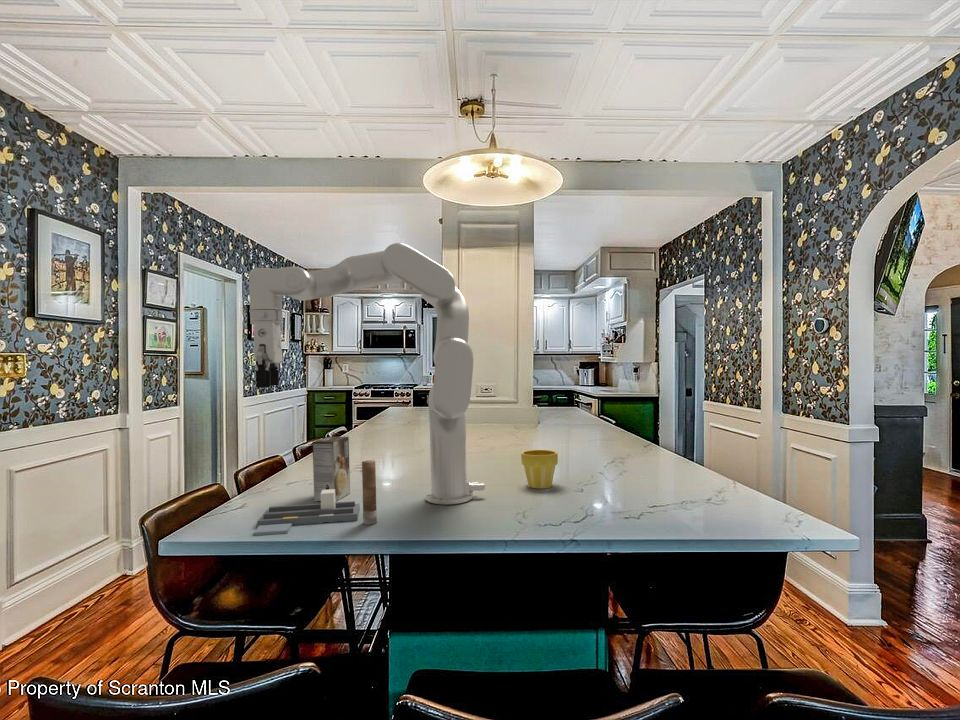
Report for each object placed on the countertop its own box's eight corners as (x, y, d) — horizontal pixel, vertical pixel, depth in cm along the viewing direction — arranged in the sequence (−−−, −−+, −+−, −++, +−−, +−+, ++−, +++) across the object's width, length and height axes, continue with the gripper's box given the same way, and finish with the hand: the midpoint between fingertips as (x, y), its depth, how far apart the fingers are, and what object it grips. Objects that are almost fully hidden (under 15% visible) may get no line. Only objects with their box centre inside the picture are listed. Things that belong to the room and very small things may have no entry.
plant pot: (533, 480, 158) (532, 447, 158) (564, 484, 152) (563, 450, 152) (515, 487, 149) (514, 453, 149) (547, 492, 143) (546, 456, 143)
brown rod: (376, 520, 122) (375, 460, 122) (376, 524, 119) (375, 462, 119) (363, 521, 121) (362, 461, 121) (362, 525, 118) (361, 463, 118)
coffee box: (329, 492, 148) (328, 436, 148) (350, 493, 147) (349, 436, 147) (313, 501, 139) (311, 441, 139) (335, 502, 138) (334, 441, 138)
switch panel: (359, 509, 131) (359, 499, 131) (357, 520, 122) (357, 509, 122) (266, 515, 127) (266, 505, 127) (257, 527, 118) (257, 516, 118)
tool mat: (291, 525, 119) (291, 523, 119) (287, 532, 114) (287, 530, 114) (259, 528, 118) (259, 525, 118) (253, 535, 113) (253, 532, 113)
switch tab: (335, 507, 127) (335, 489, 127) (334, 511, 124) (333, 492, 124) (322, 508, 127) (322, 489, 127) (320, 512, 123) (320, 493, 123)
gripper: (274, 315, 123) (276, 387, 123) (288, 320, 140) (290, 384, 141) (240, 315, 122) (242, 388, 122) (259, 320, 139) (260, 385, 139)
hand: (268, 386), depth 131 cm, fingers open, 9 cm apart
